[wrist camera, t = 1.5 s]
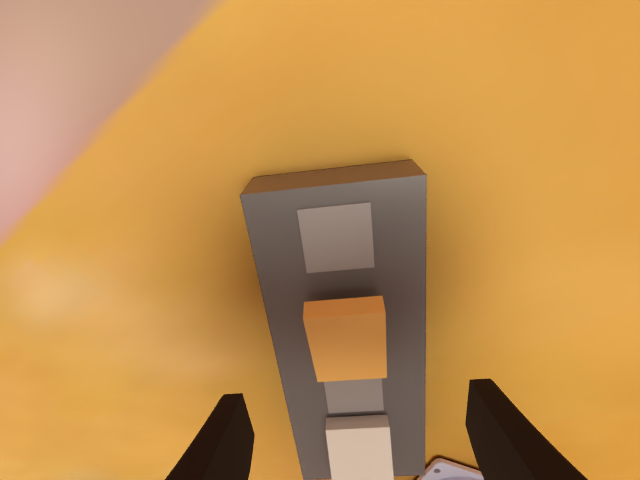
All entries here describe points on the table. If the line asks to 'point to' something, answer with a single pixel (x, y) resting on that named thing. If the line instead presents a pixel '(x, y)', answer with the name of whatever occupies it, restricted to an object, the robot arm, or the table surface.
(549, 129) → the table surface
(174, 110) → the table surface
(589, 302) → the table surface
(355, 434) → the beige rectangular slab
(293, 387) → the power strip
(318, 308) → the block
